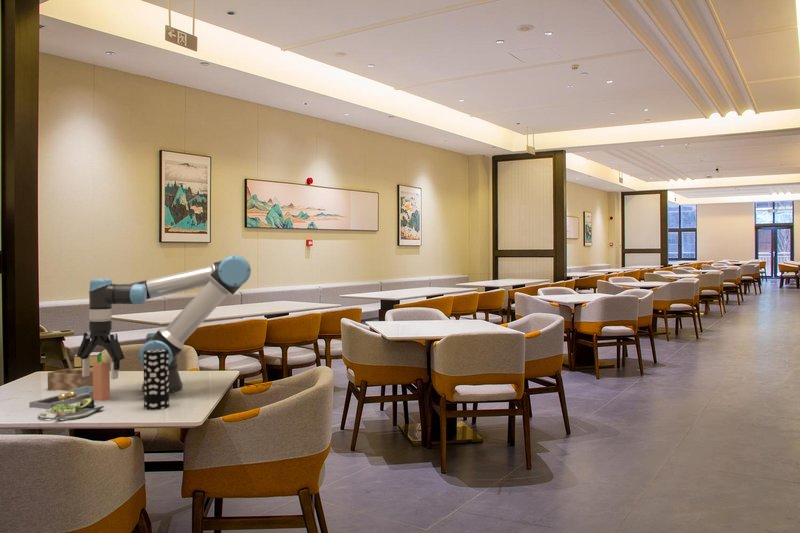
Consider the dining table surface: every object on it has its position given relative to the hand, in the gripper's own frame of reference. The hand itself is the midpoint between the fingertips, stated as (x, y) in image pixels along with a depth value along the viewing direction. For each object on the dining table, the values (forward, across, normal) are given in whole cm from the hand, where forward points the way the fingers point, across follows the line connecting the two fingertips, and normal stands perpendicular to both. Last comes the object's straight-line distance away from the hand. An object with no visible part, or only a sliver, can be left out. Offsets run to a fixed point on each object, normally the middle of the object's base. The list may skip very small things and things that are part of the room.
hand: (100, 377), depth 232 cm
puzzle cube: (+9, +44, -36) cm, 57 cm away
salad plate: (+9, -6, +19) cm, 22 cm away
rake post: (+8, 0, 0) cm, 9 cm away
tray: (+9, +10, -4) cm, 13 cm away
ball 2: (+8, +10, +4) cm, 13 cm away
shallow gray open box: (+9, +10, +9) cm, 16 cm away
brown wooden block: (+9, +27, -12) cm, 31 cm away
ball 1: (+8, +10, +8) cm, 15 cm away
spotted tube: (+8, -27, +2) cm, 29 cm away
